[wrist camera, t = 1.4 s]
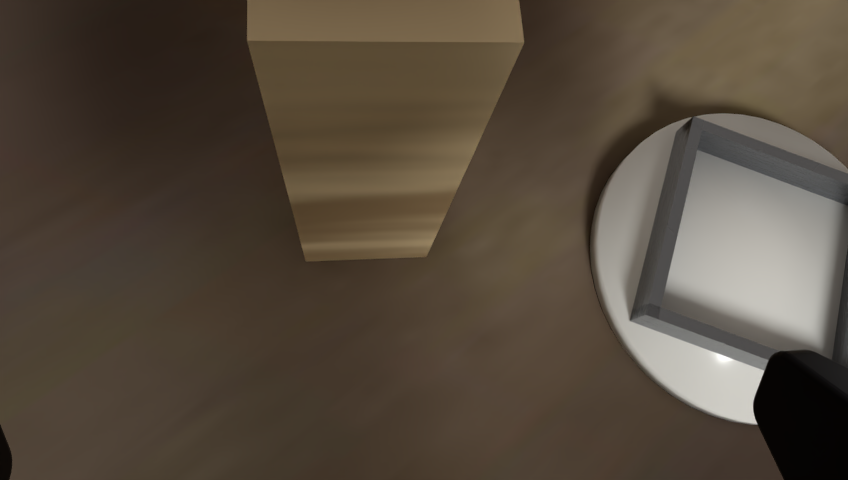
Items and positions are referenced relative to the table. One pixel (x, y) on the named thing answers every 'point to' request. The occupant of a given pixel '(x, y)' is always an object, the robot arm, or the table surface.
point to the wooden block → (378, 112)
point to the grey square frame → (668, 222)
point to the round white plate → (722, 263)
